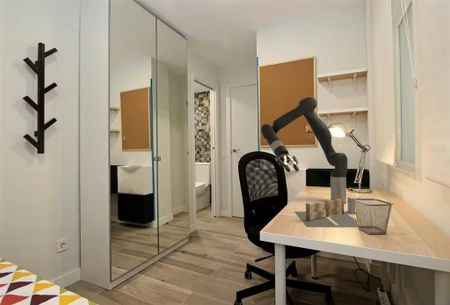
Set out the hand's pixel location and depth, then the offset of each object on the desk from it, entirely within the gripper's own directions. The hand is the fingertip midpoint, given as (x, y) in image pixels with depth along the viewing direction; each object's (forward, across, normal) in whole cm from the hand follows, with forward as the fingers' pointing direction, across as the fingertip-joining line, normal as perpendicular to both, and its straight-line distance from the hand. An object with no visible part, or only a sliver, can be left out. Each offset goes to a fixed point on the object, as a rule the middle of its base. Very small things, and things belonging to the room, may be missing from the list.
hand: (293, 170), depth 122 cm
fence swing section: (+25, +3, +8) cm, 27 cm away
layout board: (+27, +9, +7) cm, 29 cm away
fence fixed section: (+25, +17, +8) cm, 32 cm away
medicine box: (+28, +31, +7) cm, 42 cm away
